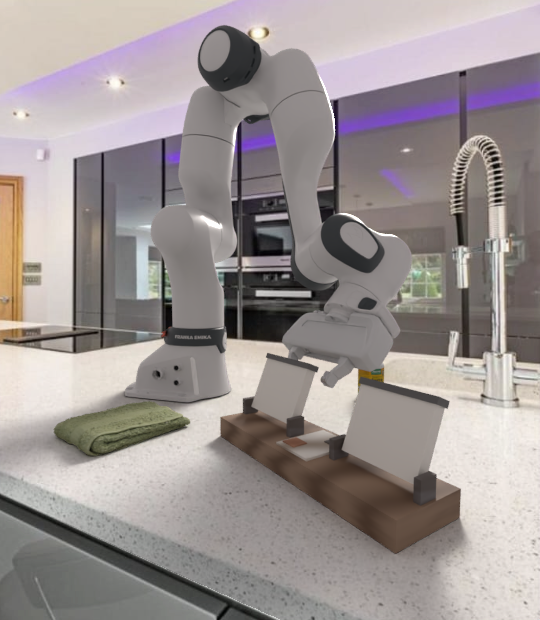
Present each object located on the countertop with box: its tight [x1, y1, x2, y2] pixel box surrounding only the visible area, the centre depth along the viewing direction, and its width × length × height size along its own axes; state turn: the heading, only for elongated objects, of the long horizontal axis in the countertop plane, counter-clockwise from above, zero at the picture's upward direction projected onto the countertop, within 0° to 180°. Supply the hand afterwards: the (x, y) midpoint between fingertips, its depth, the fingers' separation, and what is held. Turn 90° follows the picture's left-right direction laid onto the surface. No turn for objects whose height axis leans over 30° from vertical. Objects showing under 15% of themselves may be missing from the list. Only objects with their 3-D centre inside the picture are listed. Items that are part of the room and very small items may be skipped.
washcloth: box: [53, 400, 191, 457], centre depth 65 cm, size 13×18×3 cm
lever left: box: [251, 352, 319, 424], centre depth 61 cm, size 10×2×9 cm, turn 34°
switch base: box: [219, 395, 462, 554], centre depth 52 cm, size 33×10×5 cm, turn 34°
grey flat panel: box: [342, 377, 450, 484], centre depth 44 cm, size 10×2×9 cm, turn 34°
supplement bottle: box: [357, 362, 385, 393], centre depth 85 cm, size 5×5×10 cm
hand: (305, 378), depth 63 cm, fingers open, 8 cm apart
